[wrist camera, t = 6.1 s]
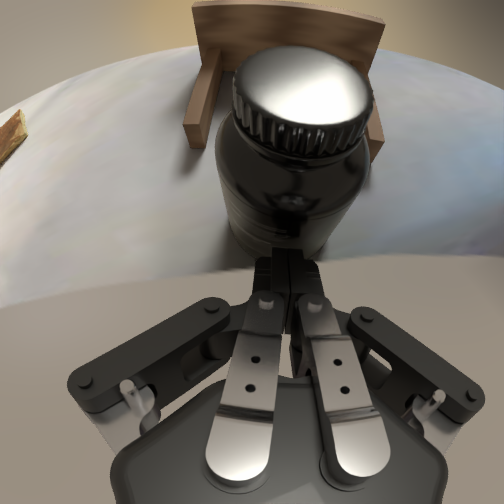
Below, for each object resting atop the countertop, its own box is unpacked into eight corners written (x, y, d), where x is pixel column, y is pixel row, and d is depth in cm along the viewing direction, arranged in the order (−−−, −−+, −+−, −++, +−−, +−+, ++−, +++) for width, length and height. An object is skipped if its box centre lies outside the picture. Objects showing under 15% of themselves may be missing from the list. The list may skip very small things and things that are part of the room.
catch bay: (361, 78, 23) (382, 18, 16) (380, 164, 20) (422, 99, 13) (205, 65, 24) (194, 2, 16) (181, 148, 21) (153, 74, 13)
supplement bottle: (346, 238, 19) (440, 131, 7) (259, 285, 18) (264, 207, 7) (296, 161, 20) (325, 23, 9) (213, 198, 20) (172, 61, 8)
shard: (-22, 198, 22) (-31, 193, 20) (-23, 164, 23) (-30, 159, 22) (31, 138, 23) (23, 130, 21) (25, 111, 25) (19, 104, 23)
